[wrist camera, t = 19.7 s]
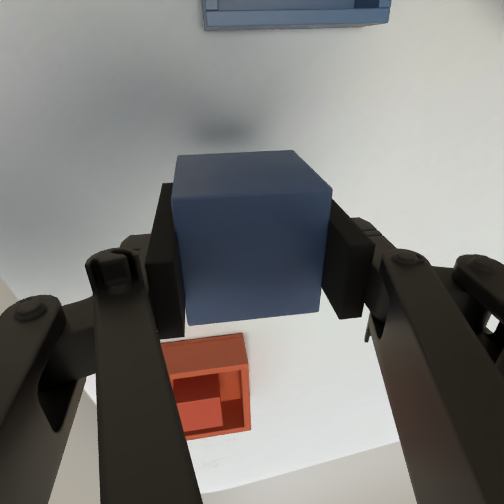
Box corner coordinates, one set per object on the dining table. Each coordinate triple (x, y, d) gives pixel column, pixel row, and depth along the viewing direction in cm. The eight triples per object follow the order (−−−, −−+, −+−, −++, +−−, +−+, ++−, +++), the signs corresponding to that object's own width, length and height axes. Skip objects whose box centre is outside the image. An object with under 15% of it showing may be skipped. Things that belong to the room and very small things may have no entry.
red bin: (139, 345, 38) (133, 379, 34) (242, 332, 40) (248, 363, 36) (156, 411, 44) (153, 446, 40) (246, 397, 46) (251, 430, 42)
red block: (173, 366, 40) (171, 404, 36) (216, 360, 40) (219, 397, 36) (179, 394, 42) (178, 433, 38) (220, 388, 43) (223, 426, 39)
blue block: (176, 154, 14) (169, 198, 10) (293, 149, 15) (333, 188, 11) (189, 257, 17) (187, 327, 13) (288, 249, 17) (319, 312, 13)
